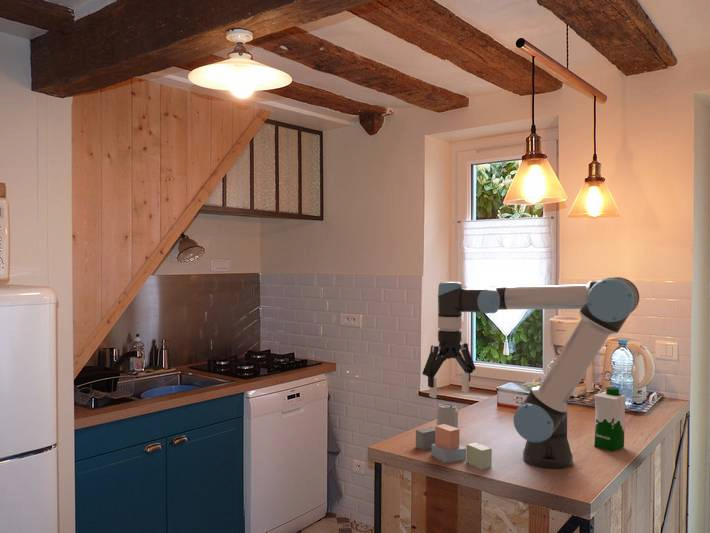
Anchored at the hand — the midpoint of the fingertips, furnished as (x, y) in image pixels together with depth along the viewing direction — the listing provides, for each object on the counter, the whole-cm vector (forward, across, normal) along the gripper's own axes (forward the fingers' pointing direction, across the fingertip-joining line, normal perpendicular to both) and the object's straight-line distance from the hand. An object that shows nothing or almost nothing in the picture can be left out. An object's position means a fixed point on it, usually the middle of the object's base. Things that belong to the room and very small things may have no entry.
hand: (449, 394), depth 196 cm
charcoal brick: (+20, 0, -11) cm, 23 cm away
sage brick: (+20, -3, +11) cm, 23 cm away
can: (+20, -12, -15) cm, 28 cm away
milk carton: (+21, -54, +20) cm, 61 cm away
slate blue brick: (+20, +1, 0) cm, 21 cm away
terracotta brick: (+16, +1, 0) cm, 17 cm away
